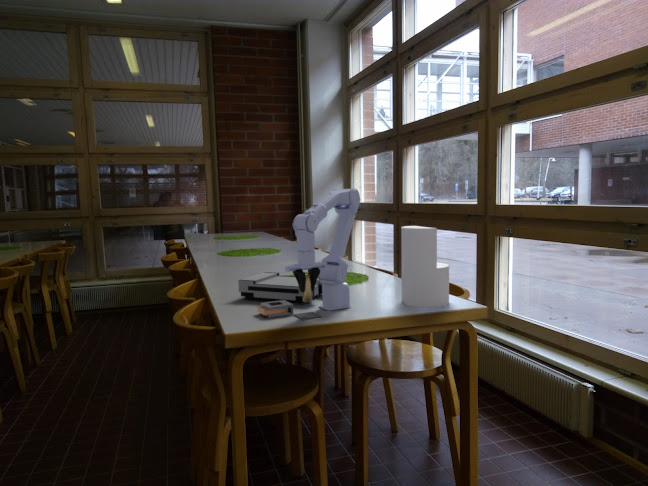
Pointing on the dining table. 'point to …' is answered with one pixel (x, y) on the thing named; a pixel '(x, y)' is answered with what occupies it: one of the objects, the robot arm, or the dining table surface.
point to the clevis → (276, 308)
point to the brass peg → (307, 289)
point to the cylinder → (423, 268)
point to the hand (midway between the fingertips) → (307, 291)
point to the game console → (274, 288)
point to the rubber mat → (307, 315)
